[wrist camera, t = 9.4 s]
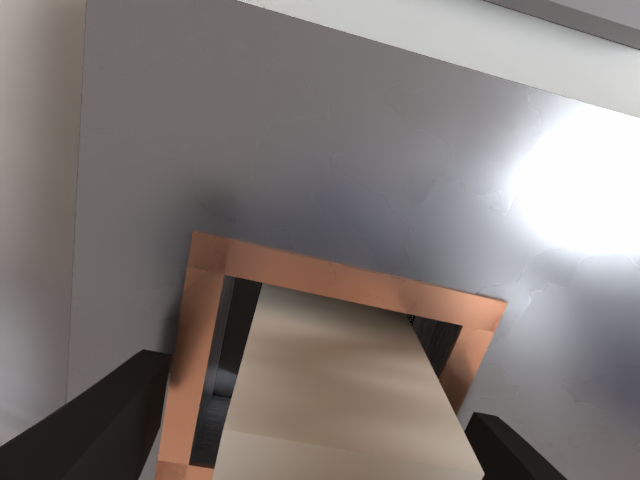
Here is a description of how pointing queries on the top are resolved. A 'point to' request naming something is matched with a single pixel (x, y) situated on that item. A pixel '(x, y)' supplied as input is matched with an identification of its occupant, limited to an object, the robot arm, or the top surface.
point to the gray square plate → (587, 16)
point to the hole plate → (353, 220)
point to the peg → (338, 398)
